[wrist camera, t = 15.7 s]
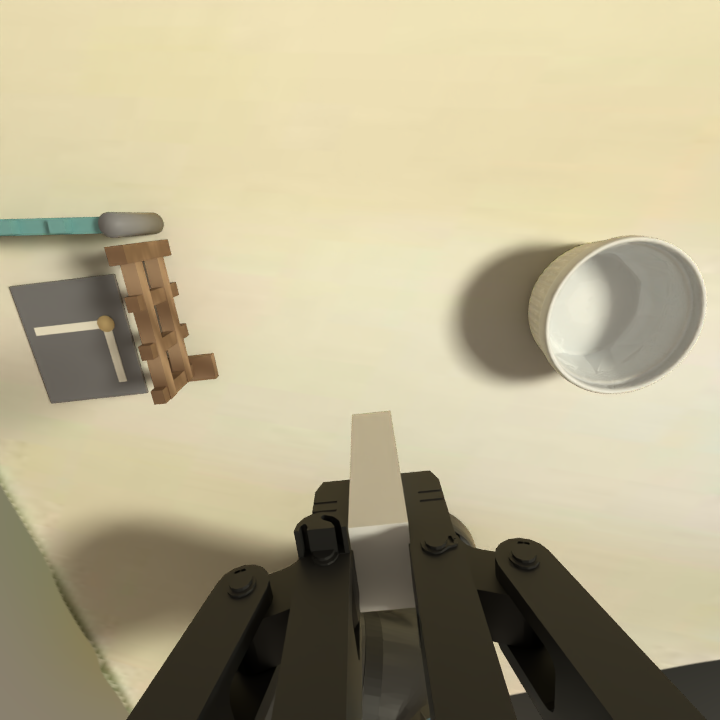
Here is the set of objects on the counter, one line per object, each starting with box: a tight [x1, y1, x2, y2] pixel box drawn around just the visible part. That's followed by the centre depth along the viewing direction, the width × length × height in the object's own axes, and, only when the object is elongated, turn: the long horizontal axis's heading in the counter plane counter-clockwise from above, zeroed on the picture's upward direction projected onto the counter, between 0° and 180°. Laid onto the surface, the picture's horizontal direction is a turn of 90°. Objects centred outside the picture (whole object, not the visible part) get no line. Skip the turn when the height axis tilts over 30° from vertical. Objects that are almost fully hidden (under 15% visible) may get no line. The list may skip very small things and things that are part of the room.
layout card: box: [10, 274, 148, 404], centre depth 43 cm, size 12×10×1 cm
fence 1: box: [0, 212, 164, 238], centre depth 36 cm, size 16×2×8 cm, turn 91°
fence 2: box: [104, 239, 219, 405], centre depth 39 cm, size 14×5×8 cm, turn 7°
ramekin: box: [528, 235, 707, 394], centre depth 39 cm, size 13×13×7 cm
